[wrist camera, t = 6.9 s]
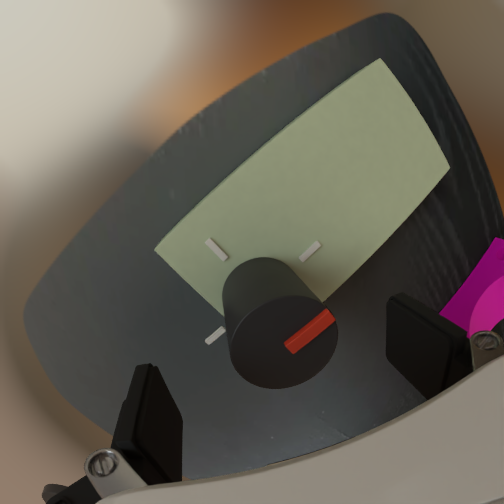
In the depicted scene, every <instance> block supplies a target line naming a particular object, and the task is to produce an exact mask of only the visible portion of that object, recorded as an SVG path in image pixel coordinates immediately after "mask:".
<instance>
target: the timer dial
mask: <svg viewBox="0 0 504 504" xmlns="http://www.w3.org/2000/svg"><path fill="white" fill-rule="evenodd" d="M222 302H223V309H224V317H225V324H226V331H227V338H228V344H229V351H230V357H231V361H232V364H233V366H234V368H235V370H236V371H237V372H238V373H239V375H241V376H242V377H243V378H244V379H245V380H247V381H248V382H250V383H252V384H254V385H256V386H259V387H263V388H269V389H281V388H288V387H292V386H296V385H298V384H301V383H303V382H305V381H307V380H309V379H310V378H312V377H313V376H315V375H316V374H317V373H319V372H320V371H321V370H322V369H323V368H324V367H325V365H326V364H327V363H328V362H329V360H330V359H331V357H332V355H333V353H334V351H335V348H336V345H337V339H338V329H337V324H336V321H335V320H336V319H335V318H334V316H333V315H332V313H331V311H330V310H329V309H328V308H327V307H326V306H325V305H324V304H323V303H322V302H321V300H320V299H319V298H318V297H317V296H316V295H315V294H314V293H313V292H312V291H311V290H310V289H309V287H308V286H307V285H306V284H305V283H304V282H303V281H302V280H301V279H300V278H299V277H298V276H297V275H296V273H295V272H294V271H293V270H292V269H291V268H290V267H289V266H288V265H286V264H285V263H283V262H282V261H280V260H277V259H274V258H269V257H259V258H253V259H250V260H247V261H245V262H243V263H241V264H240V265H238V266H237V267H236V268H235V269H234V270H233V271H232V272H231V273H230V274H229V276H228V277H227V279H226V281H225V283H224V286H223V291H222Z"/></svg>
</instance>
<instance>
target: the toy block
mask: <svg viewBox="0 0 504 504" xmlns="http://www.w3.org/2000/svg"><path fill="white" fill-rule="evenodd" d="M439 314H440V315H442V316H443V317H445V318H447V319H448V320H450V321H451V322H453V323H455V324H456V325H458V326H459V327H461V328H463V329H464V330H466V331H467V332H468V333H467V338H469V339H470V338H471V336H472V335H473V334H474V333H476V332H478V331H483V330H488V331H491V329H492V328H493V327H494V326H495V325H496V324H497V323H498V322H499V321H500V320H501V319H503V318H504V240H503V239H499V238H496V237H495V239H494V240H493V242H492V244H491V245H490V247H489V248H488V250H487V251H486V253H485V254H484V256H483V257H482V259H481V260H480V261H479V263H478V264H477V266H476V267H475V269H474V270H473V271H472V273H471V274H470V275H469V277H468V278H467V279H466V281H465V282H464V283H463V285H462V286H461V287H460V289H459V290H458V291H457V292H456V294H455V295H454V296H453V297H452V299H451V300H450V301H449V302H448V303H447V305H446V306H445V307H444V308H443V309H442V311H441V312H440V313H439Z"/></svg>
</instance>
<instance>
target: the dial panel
mask: <svg viewBox="0 0 504 504" xmlns="http://www.w3.org/2000/svg"><path fill="white" fill-rule="evenodd" d="M449 169H450V166H449V164H448V162H447V160H446V158H445V156H444V154H443V152H442V151H441V149H440V147H439V145H438V143H437V141H436V140H435V138H434V136H433V134H432V132H431V131H430V129H429V127H428V126H427V124H426V122H425V121H424V119H423V117H422V116H421V114H420V113H419V111H418V109H417V108H416V106H415V105H414V103H413V102H412V100H411V99H410V97H409V96H408V94H407V93H406V91H405V90H404V89H403V87H402V86H401V84H400V83H399V82H398V80H397V79H396V78H395V76H394V75H393V74H392V72H391V71H390V70H389V68H388V67H387V66H386V64H385V63H384V62H383V61H382V59H381V58H379V59H378V60H376V61H374V62H373V63H371V64H369V65H368V66H366V67H365V68H363V69H361V70H360V71H358V72H357V73H355V74H354V75H353V76H351V77H350V78H348V79H347V80H346V81H344V82H343V83H342V84H340V85H339V86H337V87H336V88H335V89H333V90H332V91H331V92H329V93H328V94H327V95H325V96H324V97H323V98H321V99H320V100H319V101H318V102H316V103H315V104H314V105H312V106H311V107H310V108H308V109H307V110H306V111H305V112H303V113H302V114H301V115H300V116H298V117H297V118H296V119H295V120H293V121H292V122H291V123H290V124H288V125H287V126H286V127H285V128H283V129H282V130H281V131H280V132H279V133H277V134H276V135H275V136H274V137H273V138H271V139H270V140H269V141H268V142H267V143H265V144H264V145H263V146H262V147H261V148H260V149H258V150H257V151H256V152H255V153H254V154H253V155H251V156H250V157H249V158H248V159H247V160H246V161H244V162H243V163H242V164H241V165H240V166H239V167H238V168H237V169H235V170H234V171H233V172H232V173H231V174H230V175H229V176H228V177H226V178H225V179H224V180H223V181H222V182H221V183H220V184H219V185H218V186H217V187H215V188H214V189H213V190H212V191H211V192H210V193H209V194H208V195H207V196H206V197H205V198H204V199H203V200H202V201H200V202H199V203H198V204H197V205H196V206H195V207H194V208H193V209H192V210H191V211H190V212H189V213H188V214H187V215H186V216H185V217H184V218H183V219H182V220H181V221H180V222H179V223H178V224H177V225H176V226H175V227H174V228H173V229H172V230H171V231H170V232H169V233H168V234H167V235H166V236H165V237H164V238H163V239H162V240H161V241H160V243H159V244H158V245H157V246H156V248H155V249H154V250H155V251H156V252H157V253H158V254H159V255H160V256H161V257H162V258H163V259H164V260H165V261H166V262H167V263H168V264H169V265H170V266H171V267H172V268H173V269H174V270H175V271H176V272H177V273H178V274H179V275H180V276H181V277H182V278H183V279H184V280H185V281H186V282H187V283H188V284H190V285H191V286H192V287H193V288H194V289H195V290H196V291H197V292H198V293H199V294H200V295H201V296H202V297H203V298H204V299H205V300H207V301H208V302H209V303H210V304H211V305H212V306H213V307H214V308H215V309H216V310H217V311H218V312H220V313H221V314H222V315H223V316H224V309H223V302H222V291H223V286H224V283H225V281H226V279H227V277H228V276H229V274H230V273H231V272H232V271H233V270H234V269H235V268H236V267H237V266H238V265H240V264H241V263H243V262H245V261H247V260H250V259H253V258H259V257H269V258H274V259H277V260H280V261H282V262H283V263H285V264H286V265H288V266H289V267H290V268H291V269H292V270H293V271H294V272H295V273H296V275H297V276H298V277H299V278H300V279H301V280H302V281H303V282H304V283H305V284H306V285H307V286H308V287H309V289H310V290H311V291H312V292H313V293H314V294H315V295H316V296H317V297H318V298H319V299H320V300H321V302H323V301H325V300H326V299H327V298H328V297H329V296H330V295H331V294H332V293H333V292H334V291H335V290H336V289H337V288H339V287H340V286H341V285H342V284H343V283H344V282H345V281H346V280H347V279H348V278H349V277H350V276H351V275H352V274H353V273H354V272H355V271H356V270H357V269H358V268H359V267H360V266H361V265H362V264H363V263H364V262H365V261H366V260H367V259H368V258H369V257H370V256H371V255H372V254H373V253H374V252H375V251H376V250H377V249H378V248H379V247H380V246H381V245H382V244H383V243H384V242H385V241H386V240H387V239H388V238H389V237H390V236H391V235H392V234H393V233H394V232H395V230H396V229H397V228H398V227H399V226H400V225H401V224H402V223H403V222H404V221H405V220H406V219H407V218H408V216H409V215H410V214H411V213H412V212H413V211H414V210H415V209H416V208H417V206H418V205H419V204H420V203H421V202H422V201H423V200H424V198H425V197H426V196H427V195H428V194H429V193H430V191H431V190H432V189H433V188H434V187H435V186H436V184H437V183H438V182H439V181H440V180H441V178H442V177H443V176H444V175H445V174H446V172H447V171H448V170H449ZM225 331H226V329H225V328H224V327H223V326H221V327H220V328H219V329H217V330H216V331H215V332H214V333H213V334H212V335H210V336H209V337H208V338H207V339H206V340H205V342H206V343H207V344H209V345H210V344H211V343H212V342H213V341H215V340H216V339H217V338H218V337H219V336H220V335H222V334H223V333H224V332H225Z"/></svg>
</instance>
